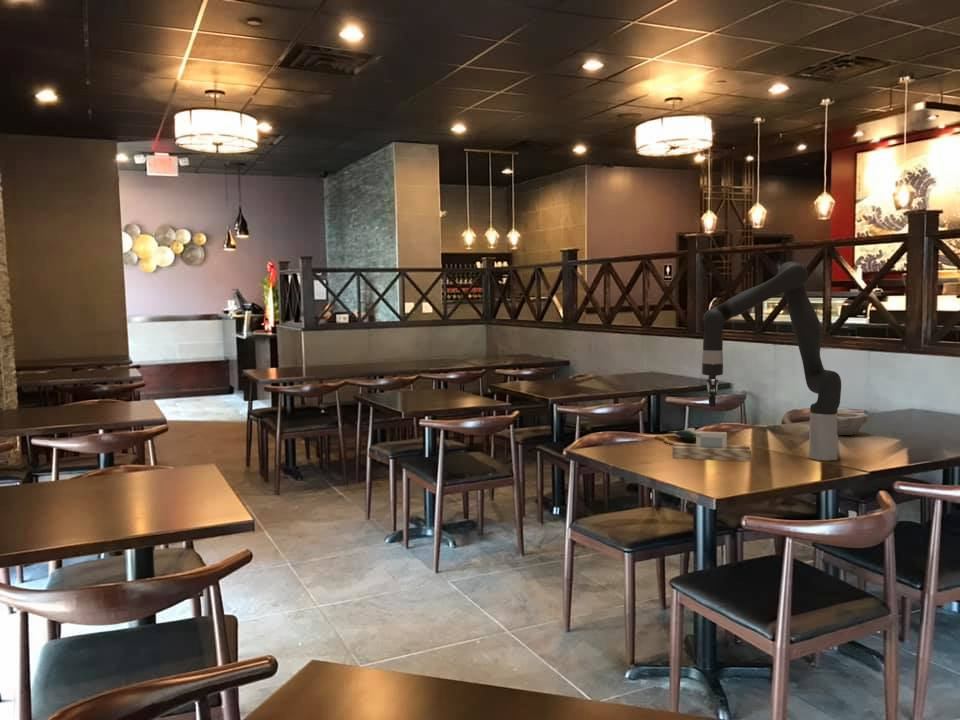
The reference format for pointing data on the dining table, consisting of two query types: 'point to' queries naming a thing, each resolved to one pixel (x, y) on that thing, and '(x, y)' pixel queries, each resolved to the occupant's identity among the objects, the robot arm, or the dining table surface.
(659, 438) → the decorative plaque
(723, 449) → the picture ledge
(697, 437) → the tapered grey panel
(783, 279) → the robot arm
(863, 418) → the mortar
